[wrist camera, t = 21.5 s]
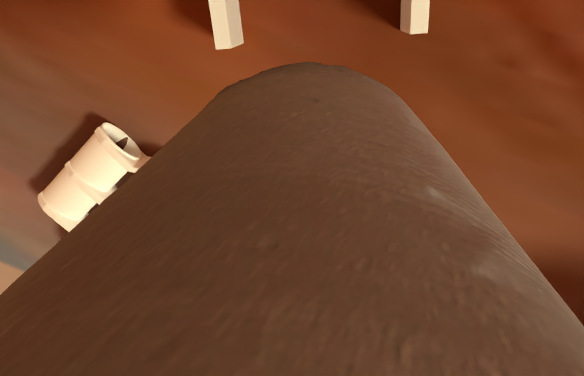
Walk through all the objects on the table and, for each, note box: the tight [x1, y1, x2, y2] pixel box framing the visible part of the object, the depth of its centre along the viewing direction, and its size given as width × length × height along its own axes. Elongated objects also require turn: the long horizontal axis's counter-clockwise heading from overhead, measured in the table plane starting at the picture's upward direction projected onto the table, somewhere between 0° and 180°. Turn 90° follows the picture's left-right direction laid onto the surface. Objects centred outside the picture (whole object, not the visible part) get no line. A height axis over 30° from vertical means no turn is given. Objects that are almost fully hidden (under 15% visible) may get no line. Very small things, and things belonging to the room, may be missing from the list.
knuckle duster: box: [38, 123, 151, 232], centre depth 40 cm, size 3×18×15 cm
